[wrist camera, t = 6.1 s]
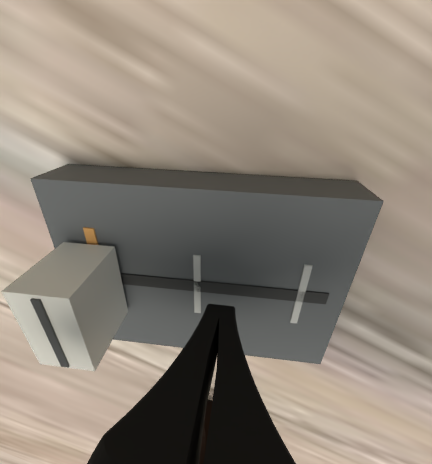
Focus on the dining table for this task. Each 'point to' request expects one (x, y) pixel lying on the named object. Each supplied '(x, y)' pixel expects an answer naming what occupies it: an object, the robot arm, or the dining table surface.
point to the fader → (70, 305)
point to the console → (219, 249)
